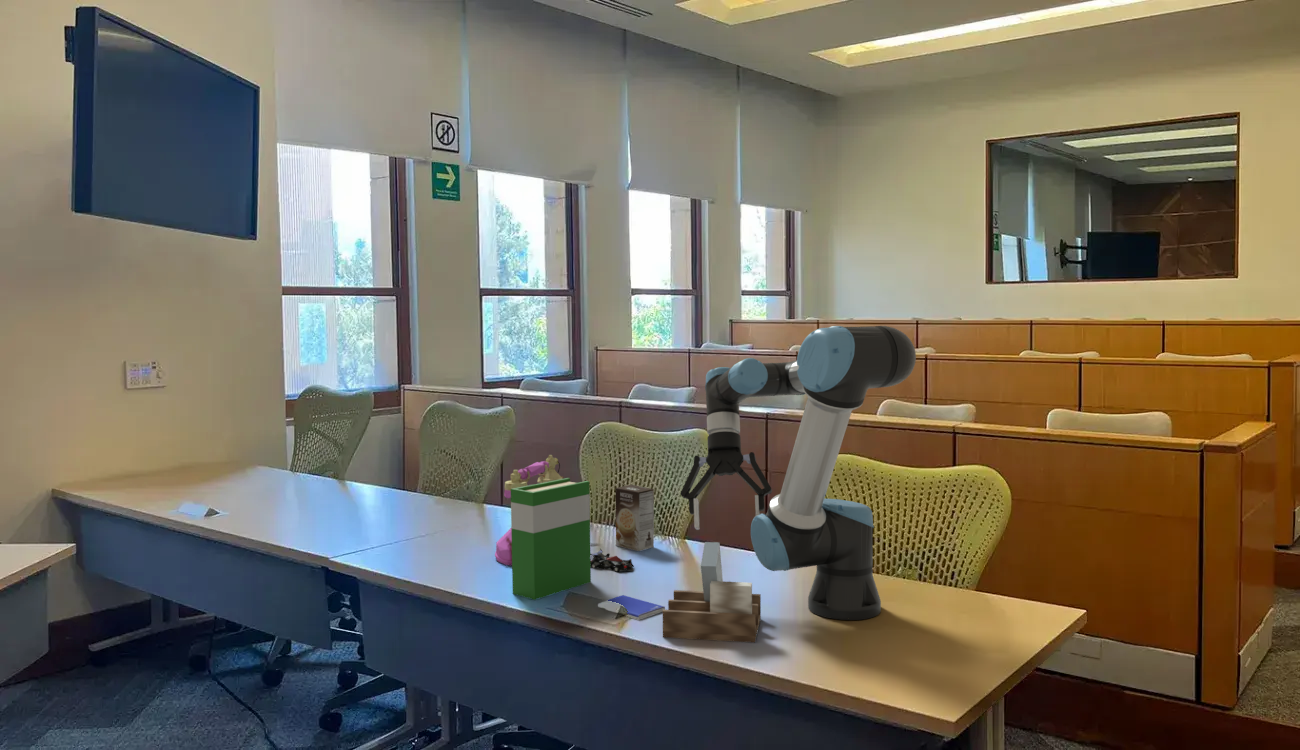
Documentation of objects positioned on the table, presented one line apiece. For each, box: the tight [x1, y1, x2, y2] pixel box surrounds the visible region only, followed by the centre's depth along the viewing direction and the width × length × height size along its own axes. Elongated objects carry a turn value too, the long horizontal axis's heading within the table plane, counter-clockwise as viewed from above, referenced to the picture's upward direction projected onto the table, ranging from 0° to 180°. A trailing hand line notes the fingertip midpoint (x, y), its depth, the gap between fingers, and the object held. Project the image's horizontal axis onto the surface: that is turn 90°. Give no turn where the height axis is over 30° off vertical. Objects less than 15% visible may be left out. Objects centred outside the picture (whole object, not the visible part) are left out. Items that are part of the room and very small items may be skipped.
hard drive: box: [607, 594, 666, 621], centre depth 202 cm, size 2×8×12 cm
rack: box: [662, 580, 762, 643], centre depth 190 cm, size 18×14×10 cm
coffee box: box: [614, 484, 655, 552], centre depth 255 cm, size 9×6×16 cm
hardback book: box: [510, 477, 592, 601], centre depth 218 cm, size 18×7×24 cm, turn 139°
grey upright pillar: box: [700, 541, 724, 602], centre depth 191 cm, size 3×7×12 cm, turn 169°
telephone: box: [494, 454, 565, 566], centre depth 250 cm, size 36×22×25 cm, turn 161°
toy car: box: [590, 548, 635, 573], centre depth 235 cm, size 6×12×4 cm, turn 58°
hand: (727, 527), depth 208 cm, fingers open, 13 cm apart
